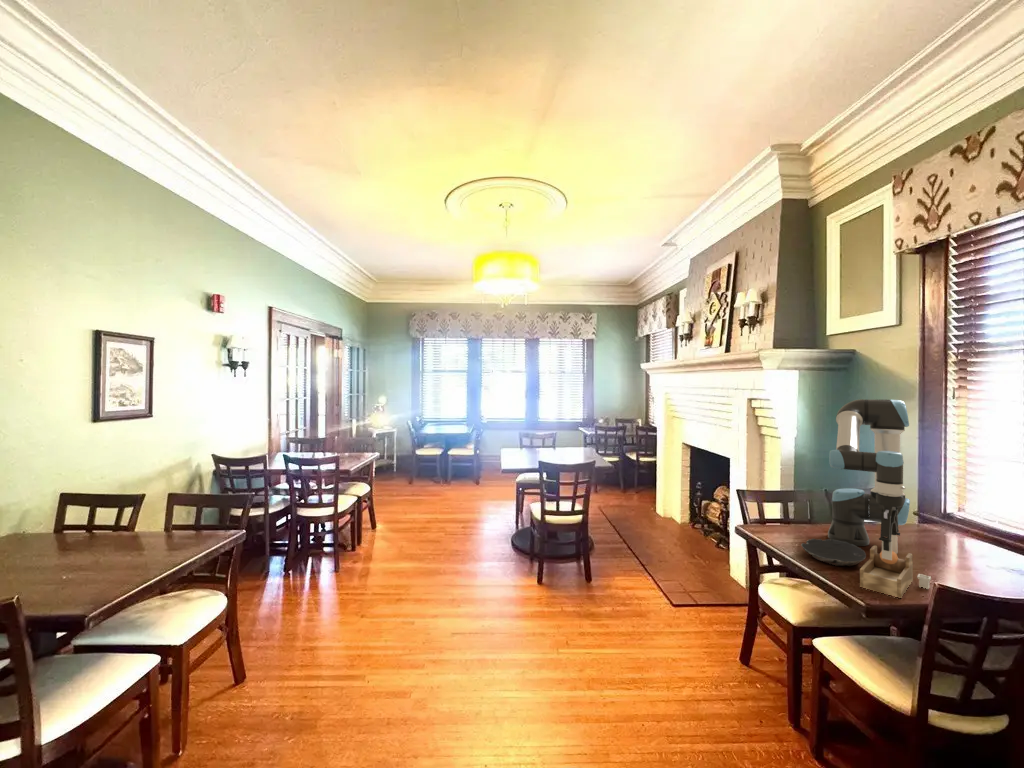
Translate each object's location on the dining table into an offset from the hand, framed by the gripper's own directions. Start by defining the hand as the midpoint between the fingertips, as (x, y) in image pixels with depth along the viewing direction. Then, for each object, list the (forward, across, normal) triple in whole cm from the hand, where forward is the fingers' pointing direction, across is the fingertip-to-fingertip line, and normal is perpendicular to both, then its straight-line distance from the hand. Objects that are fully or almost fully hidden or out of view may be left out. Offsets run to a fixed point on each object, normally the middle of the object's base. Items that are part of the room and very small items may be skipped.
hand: (889, 555), depth 160 cm
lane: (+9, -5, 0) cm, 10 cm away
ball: (0, -2, 0) cm, 2 cm away
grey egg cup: (+9, +2, -9) cm, 13 cm away
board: (+9, +7, +19) cm, 22 cm away
